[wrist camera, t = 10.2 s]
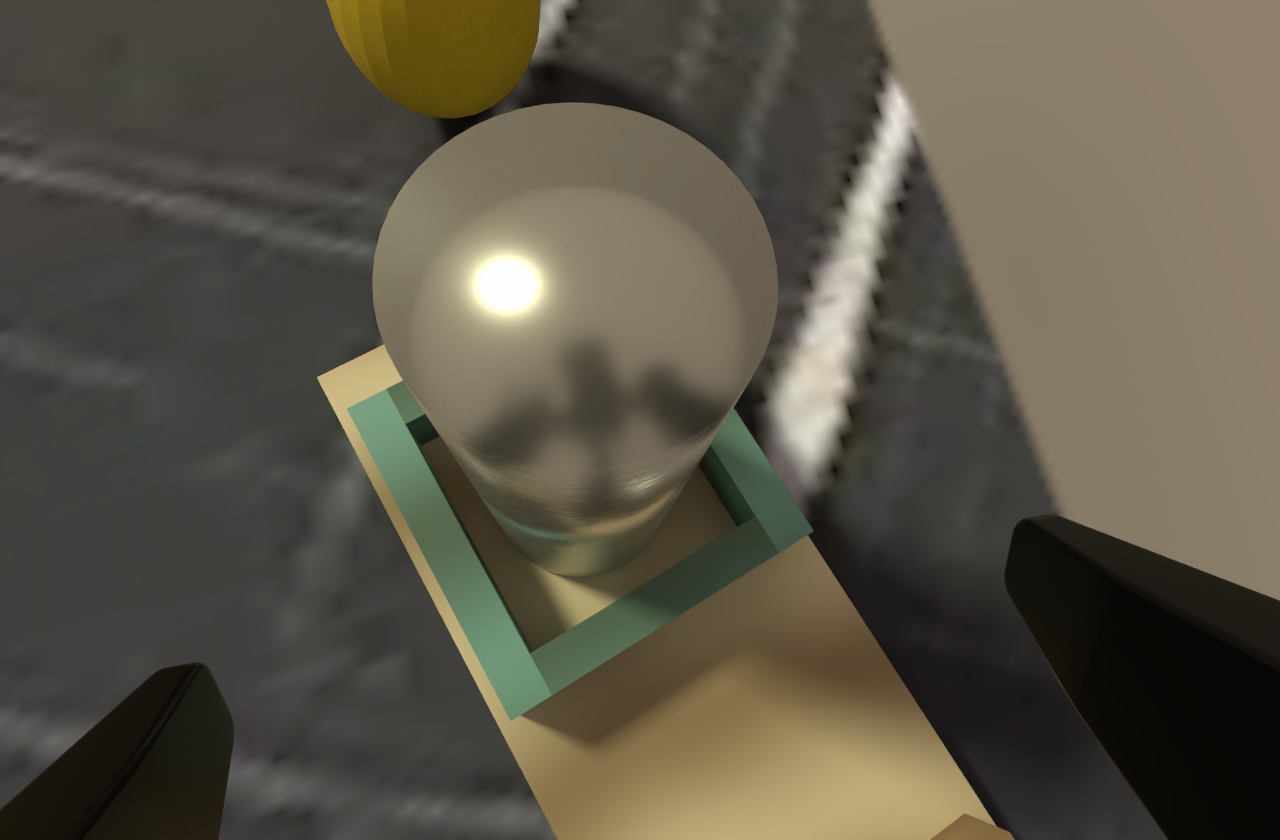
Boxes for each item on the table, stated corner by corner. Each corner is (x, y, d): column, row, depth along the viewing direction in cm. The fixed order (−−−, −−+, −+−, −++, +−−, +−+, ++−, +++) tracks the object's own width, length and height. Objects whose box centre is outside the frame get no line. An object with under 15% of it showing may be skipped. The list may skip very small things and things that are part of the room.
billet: (682, 557, 20) (824, 425, 8) (509, 593, 19) (398, 506, 8) (646, 396, 21) (725, 82, 9) (483, 425, 20) (351, 128, 9)
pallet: (1181, 1137, 18) (1298, 1231, 15) (874, 1433, 16) (941, 1608, 13) (610, 250, 23) (615, 193, 20) (328, 389, 21) (289, 348, 18)
